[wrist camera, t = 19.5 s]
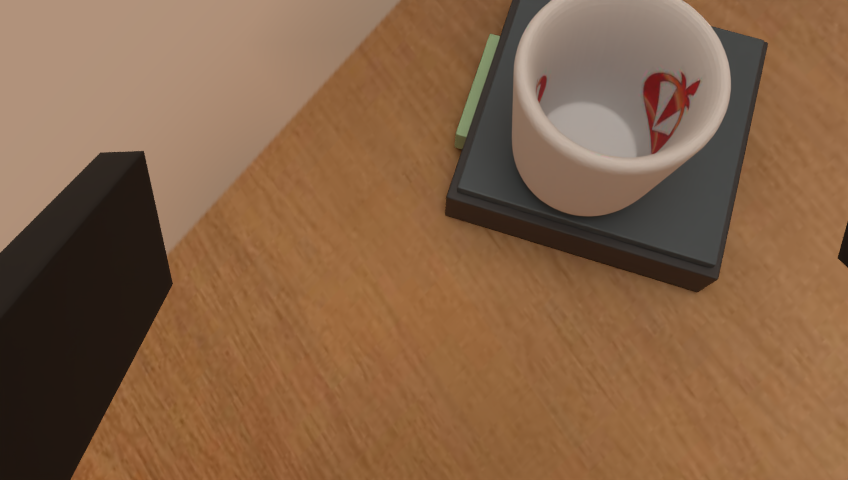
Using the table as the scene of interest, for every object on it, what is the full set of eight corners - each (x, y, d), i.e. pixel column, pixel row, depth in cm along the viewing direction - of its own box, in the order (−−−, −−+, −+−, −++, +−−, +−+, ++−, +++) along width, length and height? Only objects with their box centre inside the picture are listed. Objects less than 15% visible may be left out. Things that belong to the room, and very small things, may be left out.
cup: (489, 33, 36) (506, -83, 29) (649, 30, 36) (709, -86, 29) (499, 239, 33) (521, 171, 25) (674, 237, 33) (749, 168, 25)
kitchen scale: (433, 211, 37) (433, 188, 34) (504, 2, 41) (511, -36, 37) (697, 292, 36) (723, 276, 33) (747, 69, 39) (774, 35, 36)
